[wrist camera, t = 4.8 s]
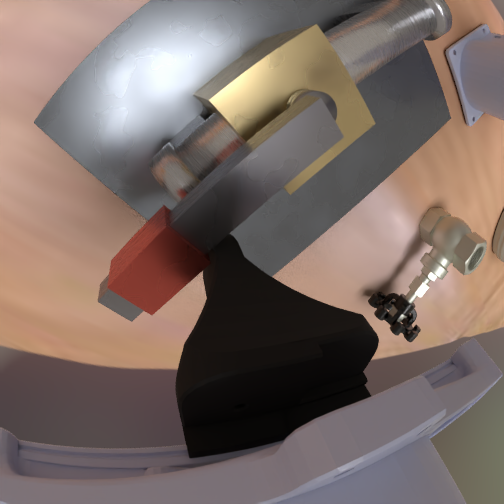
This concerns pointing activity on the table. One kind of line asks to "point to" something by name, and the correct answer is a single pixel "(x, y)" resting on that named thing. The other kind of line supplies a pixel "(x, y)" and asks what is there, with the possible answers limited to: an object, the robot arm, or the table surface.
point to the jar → (499, 239)
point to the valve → (431, 267)
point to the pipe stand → (253, 103)
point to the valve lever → (218, 206)
